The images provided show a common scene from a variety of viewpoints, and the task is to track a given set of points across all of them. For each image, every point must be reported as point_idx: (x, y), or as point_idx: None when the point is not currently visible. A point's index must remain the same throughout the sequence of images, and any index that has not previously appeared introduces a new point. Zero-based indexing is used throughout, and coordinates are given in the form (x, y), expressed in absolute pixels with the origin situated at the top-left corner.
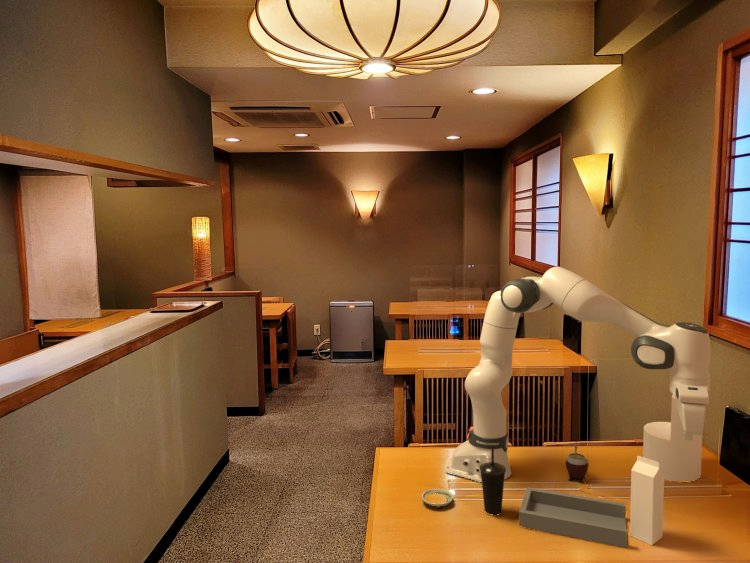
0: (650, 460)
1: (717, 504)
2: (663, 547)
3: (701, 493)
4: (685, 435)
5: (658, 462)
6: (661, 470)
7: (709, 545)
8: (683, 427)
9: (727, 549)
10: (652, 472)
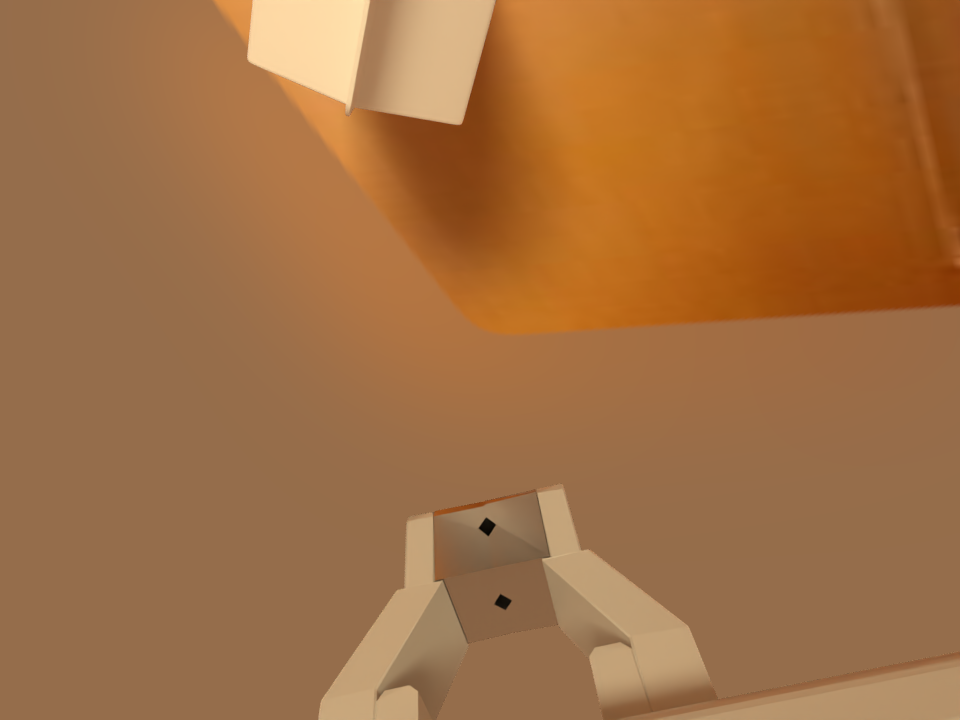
0: (363, 7)
1: (859, 228)
2: None
3: (957, 157)
4: (407, 565)
5: (348, 106)
6: (417, 108)
7: (490, 236)
8: (569, 582)
9: (497, 291)
10: (291, 41)
